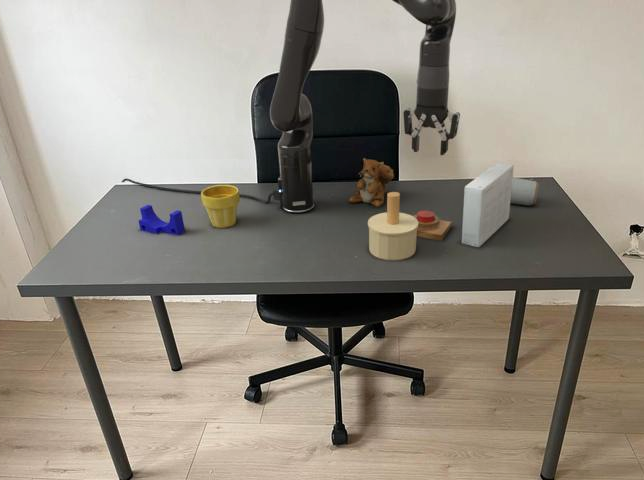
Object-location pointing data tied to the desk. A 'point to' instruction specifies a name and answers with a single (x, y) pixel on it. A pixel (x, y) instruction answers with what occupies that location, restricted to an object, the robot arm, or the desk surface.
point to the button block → (433, 228)
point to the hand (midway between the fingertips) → (429, 152)
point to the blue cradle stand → (160, 222)
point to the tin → (392, 245)
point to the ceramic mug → (523, 191)
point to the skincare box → (486, 204)
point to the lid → (393, 219)
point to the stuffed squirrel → (372, 183)
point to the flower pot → (221, 204)
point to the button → (425, 216)
